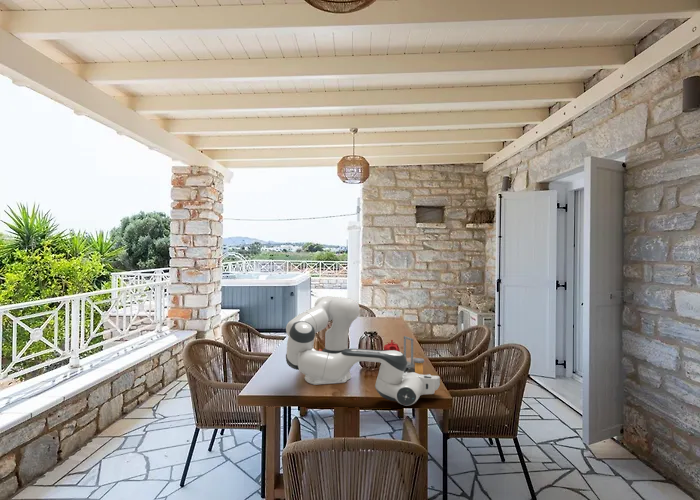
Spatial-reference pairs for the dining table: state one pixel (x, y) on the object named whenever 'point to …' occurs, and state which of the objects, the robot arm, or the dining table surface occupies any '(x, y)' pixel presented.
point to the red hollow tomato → (391, 346)
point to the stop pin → (419, 365)
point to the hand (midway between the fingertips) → (418, 374)
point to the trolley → (410, 365)
